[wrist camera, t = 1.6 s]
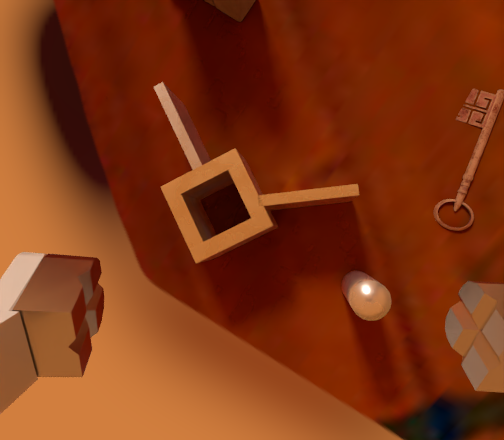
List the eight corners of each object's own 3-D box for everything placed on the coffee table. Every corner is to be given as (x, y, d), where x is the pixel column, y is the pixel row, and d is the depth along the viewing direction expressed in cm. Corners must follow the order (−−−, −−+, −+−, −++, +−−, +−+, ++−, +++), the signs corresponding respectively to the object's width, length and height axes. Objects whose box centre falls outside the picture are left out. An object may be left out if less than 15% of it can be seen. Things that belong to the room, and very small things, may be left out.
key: (462, 82, 43) (409, 215, 43) (464, 78, 42) (411, 215, 43) (520, 98, 42) (466, 236, 42) (524, 95, 41) (469, 235, 41)
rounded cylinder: (373, 271, 43) (392, 282, 33) (371, 302, 43) (390, 322, 33) (341, 269, 44) (351, 279, 34) (339, 299, 44) (349, 318, 34)
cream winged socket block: (354, 200, 44) (362, 193, 37) (216, 266, 45) (200, 272, 38) (279, 53, 45) (274, 20, 38) (149, 123, 47) (122, 104, 40)
